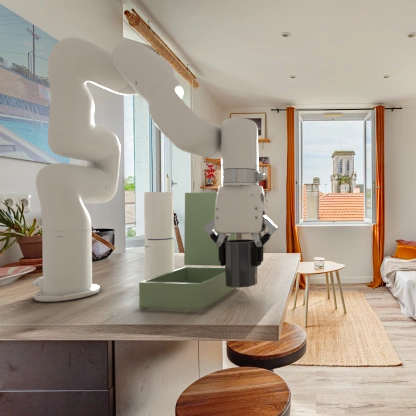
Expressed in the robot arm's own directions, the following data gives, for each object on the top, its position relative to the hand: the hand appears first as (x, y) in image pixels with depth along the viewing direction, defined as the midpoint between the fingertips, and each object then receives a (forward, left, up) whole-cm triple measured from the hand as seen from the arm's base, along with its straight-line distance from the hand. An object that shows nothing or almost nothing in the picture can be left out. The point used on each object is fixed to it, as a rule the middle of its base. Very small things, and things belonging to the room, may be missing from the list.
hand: (241, 264), depth 68 cm
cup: (0, 0, -4) cm, 4 cm away
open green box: (-13, +4, -9) cm, 16 cm away
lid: (-13, +13, +6) cm, 19 cm away
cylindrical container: (-29, +16, -9) cm, 35 cm away
